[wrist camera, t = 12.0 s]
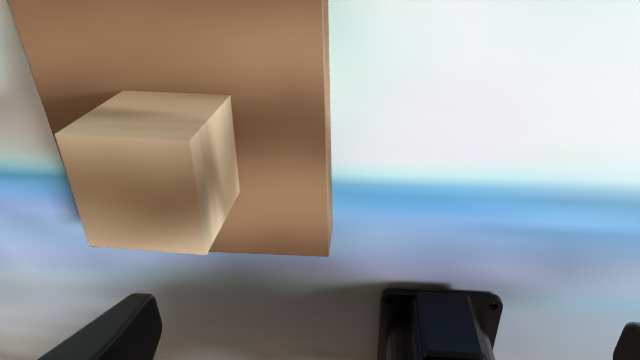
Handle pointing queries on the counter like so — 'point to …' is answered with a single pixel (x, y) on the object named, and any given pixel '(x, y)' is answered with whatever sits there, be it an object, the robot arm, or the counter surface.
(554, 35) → the counter surface
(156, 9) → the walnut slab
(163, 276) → the counter surface
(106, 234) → the maple cube
